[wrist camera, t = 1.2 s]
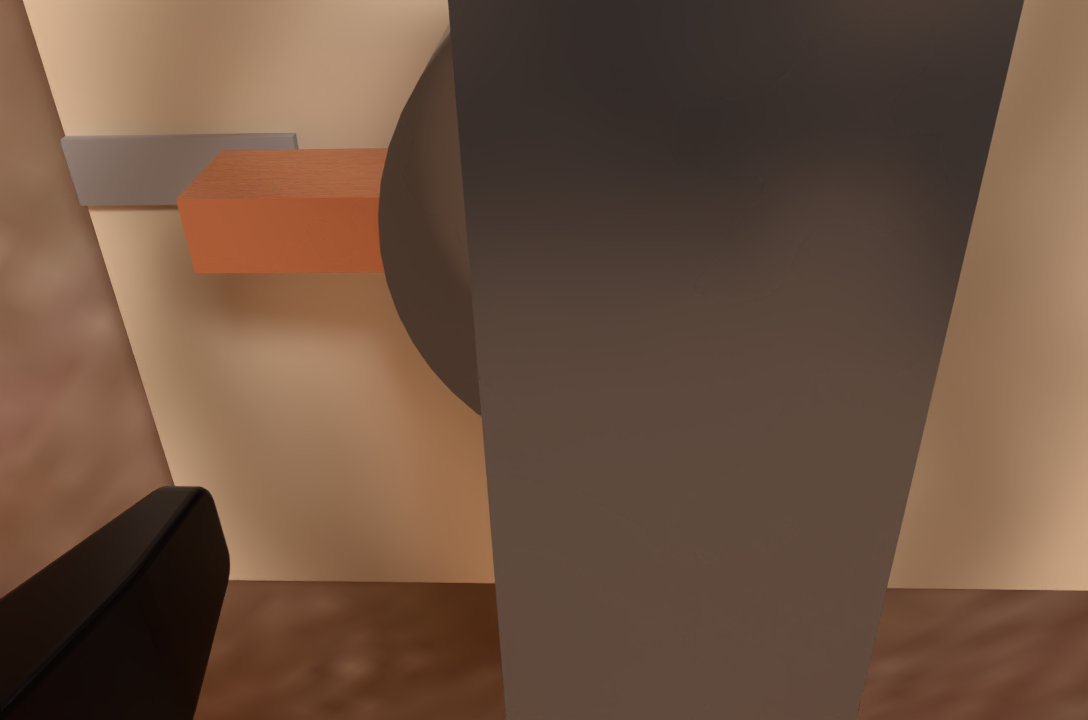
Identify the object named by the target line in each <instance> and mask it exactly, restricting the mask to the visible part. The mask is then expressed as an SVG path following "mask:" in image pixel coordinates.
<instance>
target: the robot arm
mask: <svg viewBox="0 0 1088 720" xmlns="http://www.w3.org/2000/svg"><path fill="white" fill-rule="evenodd" d="M229 575H230V555H229V550H228V547H227V543H226V540H225V536H224V533H223V529H222V526H221V522H220V519H219V515H218V512H217V508H216V505H215V501H214V499H213V497H212V495H211V493H210V492H209V491H208V490H207V489H206V488H203V487H200V486H165V487H161V488H158V489H156V490H155V491H153V492H151V493H150V494H149V495H147V496H146V497H144V498H143V499H142V500H140V501H139V502H137V503H136V504H134V505H133V506H132V507H130V508H129V509H127V510H126V511H124V512H123V513H122V514H120V515H119V516H117V517H116V518H115V519H113V520H112V521H110V522H109V523H107V524H106V525H105V526H103V527H102V528H100V529H99V530H97V531H96V532H95V533H93V534H92V535H90V536H89V537H88V538H86V539H85V540H83V541H82V542H80V543H79V544H78V545H76V546H75V547H73V548H72V549H71V550H69V551H68V552H66V553H65V554H63V555H62V556H61V557H59V558H58V559H56V560H55V561H53V562H52V563H51V564H49V565H48V566H46V567H45V568H44V569H42V570H41V571H39V572H38V573H36V574H35V575H34V576H32V577H31V578H29V579H28V580H26V581H25V582H24V583H22V584H21V585H19V586H18V587H17V588H15V589H14V590H12V591H11V592H9V593H8V594H7V595H5V596H4V597H2V598H1V599H0V720H193V718H194V714H195V711H196V707H197V703H198V699H199V695H200V691H201V687H202V683H203V679H204V675H205V672H206V668H207V664H208V660H209V656H210V652H211V648H212V644H213V640H214V636H215V632H216V628H217V624H218V620H219V616H220V612H221V608H222V604H223V600H224V597H225V593H226V589H227V585H228V580H229Z"/></svg>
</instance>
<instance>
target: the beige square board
mask: <svg viewBox="0 0 1088 720" xmlns="http://www.w3.org/2000/svg"><path fill="white" fill-rule="evenodd" d="M23 2H24V5H25V8H26V12H27V15H28V18H29V21H30V24H31V28H32V31H33V34H34V37H35V40H36V44H37V47H38V50H39V53H40V56H41V60H42V63H43V66H44V69H45V72H46V76H47V79H48V82H49V85H50V88H51V91H52V95H53V98H54V101H55V104H56V107H57V111H58V114H59V117H60V120H61V123H62V127H63V130H64V133H65V137H63V138H62V139H60V142H61V145H62V148H63V151H64V155H65V158H66V161H67V164H68V167H69V170H70V174H71V177H72V180H73V183H74V186H75V189H76V193H77V196H78V199H79V202H80V205H81V206H87V207H88V210H89V213H90V216H91V219H92V222H93V226H94V229H95V232H96V235H97V238H98V242H99V245H100V248H101V251H102V254H103V258H104V261H105V264H106V267H107V270H108V274H109V277H110V280H111V283H112V286H113V290H114V293H115V296H116V299H117V302H118V306H119V309H120V312H121V315H122V318H123V322H124V325H125V328H126V331H127V334H128V338H129V341H130V344H131V347H132V350H133V353H134V357H135V360H136V363H137V366H138V369H139V373H140V376H141V379H142V382H143V385H144V389H145V392H146V395H147V398H148V401H149V405H150V408H151V411H152V414H153V417H154V421H155V424H156V427H157V430H158V433H159V437H160V440H161V443H162V446H163V449H164V453H165V456H166V459H167V462H168V465H169V469H170V472H171V475H172V478H173V481H174V485H175V486H200V487H203V488H206V489H207V490H208V491H209V492H210V493H211V495H212V497H213V499H214V501H215V505H216V508H217V512H218V515H219V519H220V522H221V526H222V529H223V533H224V536H225V540H226V543H227V547H228V550H229V555H230V575H229V580H272V581H354V582H436V583H495V577H494V564H493V552H492V540H491V527H490V515H489V503H488V490H487V478H486V466H485V453H484V441H483V429H482V417H481V416H480V415H478V414H477V413H475V412H474V411H473V410H472V409H471V408H470V407H469V406H467V405H466V404H465V403H464V402H463V401H462V400H460V399H459V398H458V397H457V396H456V395H455V394H453V393H452V392H451V391H450V389H449V388H448V387H447V386H446V385H445V384H444V383H443V382H442V381H441V379H440V378H439V377H438V376H437V375H436V374H435V373H434V372H433V371H432V370H431V368H430V367H429V365H428V364H427V363H426V361H425V360H424V358H423V357H422V355H421V354H420V353H419V351H418V350H417V348H416V347H415V345H414V344H413V342H412V340H411V339H410V337H409V335H408V333H407V331H406V329H405V327H404V325H403V323H402V321H401V319H400V317H399V315H398V313H397V310H396V308H395V305H394V302H393V299H392V296H391V294H390V291H389V288H388V285H387V282H386V277H385V272H354V273H195V271H194V268H193V264H192V260H191V256H190V252H189V248H188V244H187V240H186V236H185V233H184V229H183V225H182V221H181V217H180V213H179V209H178V205H177V201H176V199H177V198H178V197H179V196H180V195H181V193H182V192H183V191H184V190H185V189H186V188H187V187H188V186H189V185H190V184H191V183H192V182H193V181H194V180H195V178H196V177H197V176H198V175H199V174H200V173H201V172H202V171H203V170H204V169H205V168H206V167H207V166H208V165H209V164H210V162H211V161H212V160H213V159H214V158H215V157H216V156H217V155H218V154H219V153H220V152H221V151H222V150H281V149H358V148H388V147H389V144H390V141H391V139H392V136H393V133H394V131H395V128H396V126H397V123H398V120H399V118H400V115H401V112H402V110H403V108H404V107H405V105H406V103H407V101H408V99H409V97H410V95H411V93H412V92H413V90H414V88H415V86H416V84H417V82H418V80H419V79H420V77H421V75H422V73H423V71H424V69H425V67H426V65H427V64H428V62H429V60H430V58H431V56H432V54H433V52H434V51H435V49H436V47H437V45H438V43H439V42H440V40H441V38H442V36H443V34H444V32H445V31H446V29H447V27H448V25H449V23H450V22H449V9H448V0H23ZM887 588H929V589H1011V590H1088V0H1024V4H1023V8H1022V12H1021V17H1020V21H1019V25H1018V29H1017V34H1016V38H1015V42H1014V46H1013V51H1012V55H1011V59H1010V64H1009V68H1008V72H1007V76H1006V81H1005V85H1004V89H1003V94H1002V98H1001V102H1000V106H999V111H998V115H997V119H996V124H995V128H994V132H993V136H992V141H991V145H990V149H989V154H988V158H987V162H986V166H985V171H984V175H983V179H982V183H981V188H980V192H979V196H978V201H977V205H976V209H975V213H974V218H973V222H972V226H971V231H970V235H969V239H968V243H967V248H966V252H965V256H964V261H963V265H962V269H961V273H960V278H959V282H958V286H957V290H956V295H955V299H954V303H953V308H952V312H951V316H950V320H949V325H948V329H947V333H946V338H945V342H944V346H943V350H942V355H941V359H940V363H939V368H938V372H937V376H936V380H935V385H934V389H933V393H932V397H931V402H930V406H929V410H928V415H927V419H926V423H925V427H924V432H923V436H922V440H921V445H920V449H919V453H918V457H917V462H916V466H915V470H914V475H913V479H912V483H911V487H910V492H909V496H908V500H907V504H906V509H905V513H904V517H903V522H902V526H901V530H900V534H899V539H898V543H897V547H896V552H895V556H894V560H893V564H892V569H891V573H890V577H889V582H888V586H887Z"/></svg>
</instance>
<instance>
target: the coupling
mask: <svg viewBox="0 0 1088 720" xmlns="http://www.w3.org/2000/svg"><path fill="white" fill-rule="evenodd" d="M1023 4H1024V0H448V9H449V22H450V23H449V25H448V27H447V29H446V31H445V32H444V34H443V36H442V38H441V40H440V42H439V43H438V45H437V47H436V49H435V51H434V52H433V54H432V56H431V58H430V60H429V62H428V64H427V65H426V67H425V69H424V71H423V73H422V75H421V77H420V79H419V80H418V82H417V84H416V86H415V88H414V90H413V92H412V93H411V95H410V97H409V99H408V101H407V103H406V105H405V107H404V108H403V110H402V112H401V115H400V118H399V120H398V123H397V126H396V128H395V131H394V133H393V136H392V139H391V141H390V144H389V147H388V148H358V149H281V150H222V151H221V152H220V153H219V154H218V155H217V156H216V157H215V158H214V159H213V160H212V161H211V162H210V164H209V165H208V166H207V167H206V168H205V169H204V170H203V171H202V172H201V173H200V174H199V175H198V176H197V177H196V178H195V180H194V181H193V182H192V183H191V184H190V185H189V186H188V187H187V188H186V189H185V190H184V191H183V192H182V193H181V195H180V196H179V197H178V198H177V199H176V201H177V205H178V209H179V213H180V217H181V221H182V225H183V229H184V233H185V236H186V240H187V244H188V248H189V252H190V256H191V260H192V264H193V268H194V271H195V273H354V272H385V277H386V282H387V285H388V288H389V291H390V294H391V296H392V299H393V302H394V305H395V308H396V310H397V313H398V315H399V317H400V319H401V321H402V323H403V325H404V327H405V329H406V331H407V333H408V335H409V337H410V339H411V340H412V342H413V344H414V345H415V347H416V348H417V350H418V351H419V353H420V354H421V355H422V357H423V358H424V360H425V361H426V363H427V364H428V365H429V367H430V368H431V370H432V371H433V372H434V373H435V374H436V375H437V376H438V377H439V378H440V379H441V381H442V382H443V383H444V384H445V385H446V386H447V387H448V388H449V389H450V391H451V392H452V393H453V394H455V395H456V396H457V397H458V398H459V399H460V400H462V401H463V402H464V403H465V404H466V405H467V406H469V407H470V408H471V409H472V410H473V411H474V412H475V413H477V414H478V415H480V416H481V417H482V429H483V441H484V453H485V466H486V478H487V490H488V503H489V515H490V527H491V540H492V552H493V564H494V577H495V589H496V601H497V614H498V626H499V638H500V651H501V663H502V675H503V688H504V700H505V712H506V720H856V718H857V714H858V710H859V706H860V701H861V697H862V693H863V689H864V684H865V680H866V676H867V671H868V667H869V663H870V659H871V654H872V650H873V646H874V641H875V637H876V633H877V629H878V624H879V620H880V616H881V611H882V607H883V603H884V599H885V594H886V590H887V586H888V582H889V577H890V573H891V569H892V564H893V560H894V556H895V552H896V547H897V543H898V539H899V534H900V530H901V526H902V522H903V517H904V513H905V509H906V504H907V500H908V496H909V492H910V487H911V483H912V479H913V475H914V470H915V466H916V462H917V457H918V453H919V449H920V445H921V440H922V436H923V432H924V427H925V423H926V419H927V415H928V410H929V406H930V402H931V397H932V393H933V389H934V385H935V380H936V376H937V372H938V368H939V363H940V359H941V355H942V350H943V346H944V342H945V338H946V333H947V329H948V325H949V320H950V316H951V312H952V308H953V303H954V299H955V295H956V290H957V286H958V282H959V278H960V273H961V269H962V265H963V261H964V256H965V252H966V248H967V243H968V239H969V235H970V231H971V226H972V222H973V218H974V213H975V209H976V205H977V201H978V196H979V192H980V188H981V183H982V179H983V175H984V171H985V166H986V162H987V158H988V154H989V149H990V145H991V141H992V136H993V132H994V128H995V124H996V119H997V115H998V111H999V106H1000V102H1001V98H1002V94H1003V89H1004V85H1005V81H1006V76H1007V72H1008V68H1009V64H1010V59H1011V55H1012V51H1013V46H1014V42H1015V38H1016V34H1017V29H1018V25H1019V21H1020V17H1021V12H1022V8H1023Z"/></svg>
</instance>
